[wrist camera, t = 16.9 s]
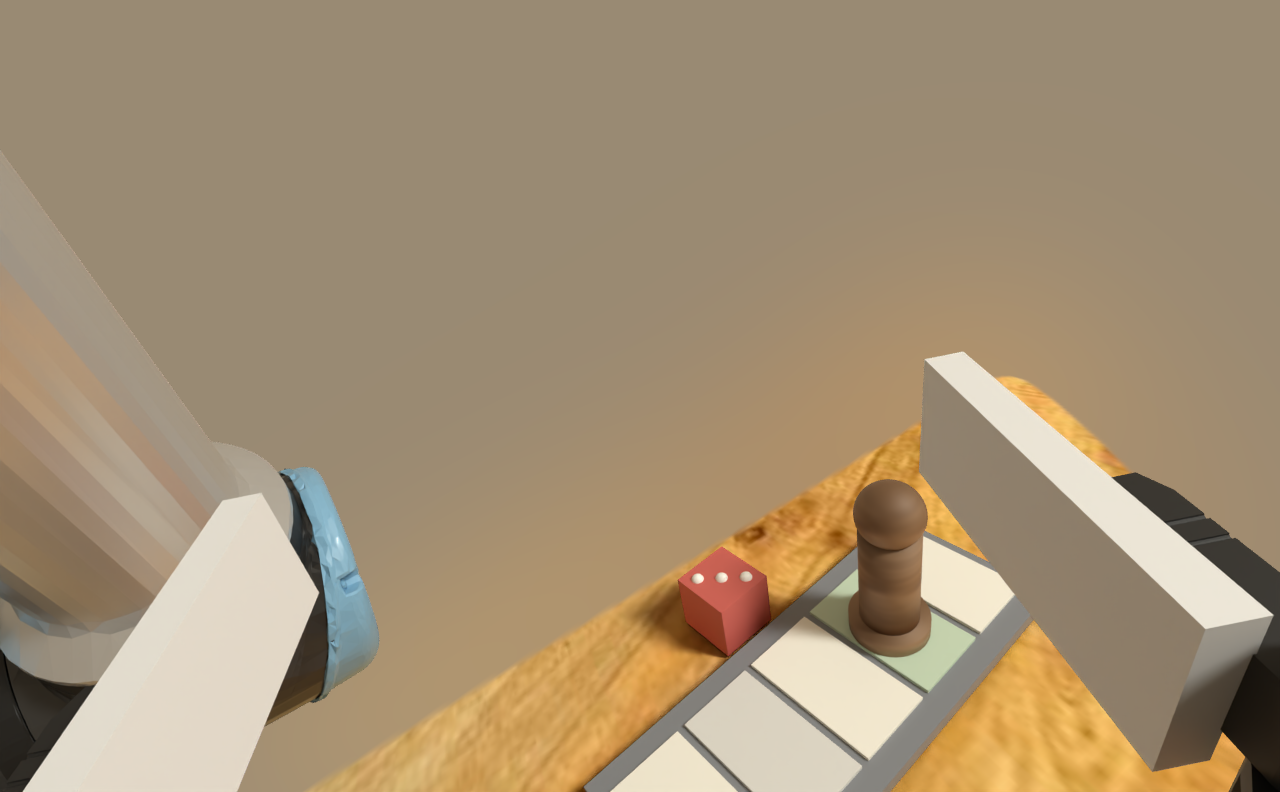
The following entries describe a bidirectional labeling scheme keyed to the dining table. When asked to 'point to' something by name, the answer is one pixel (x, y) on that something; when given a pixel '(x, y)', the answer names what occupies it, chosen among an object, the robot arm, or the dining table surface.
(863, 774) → the game board
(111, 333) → the robot arm
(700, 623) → the red die
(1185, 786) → the dining table surface
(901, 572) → the pawn
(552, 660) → the dining table surface
